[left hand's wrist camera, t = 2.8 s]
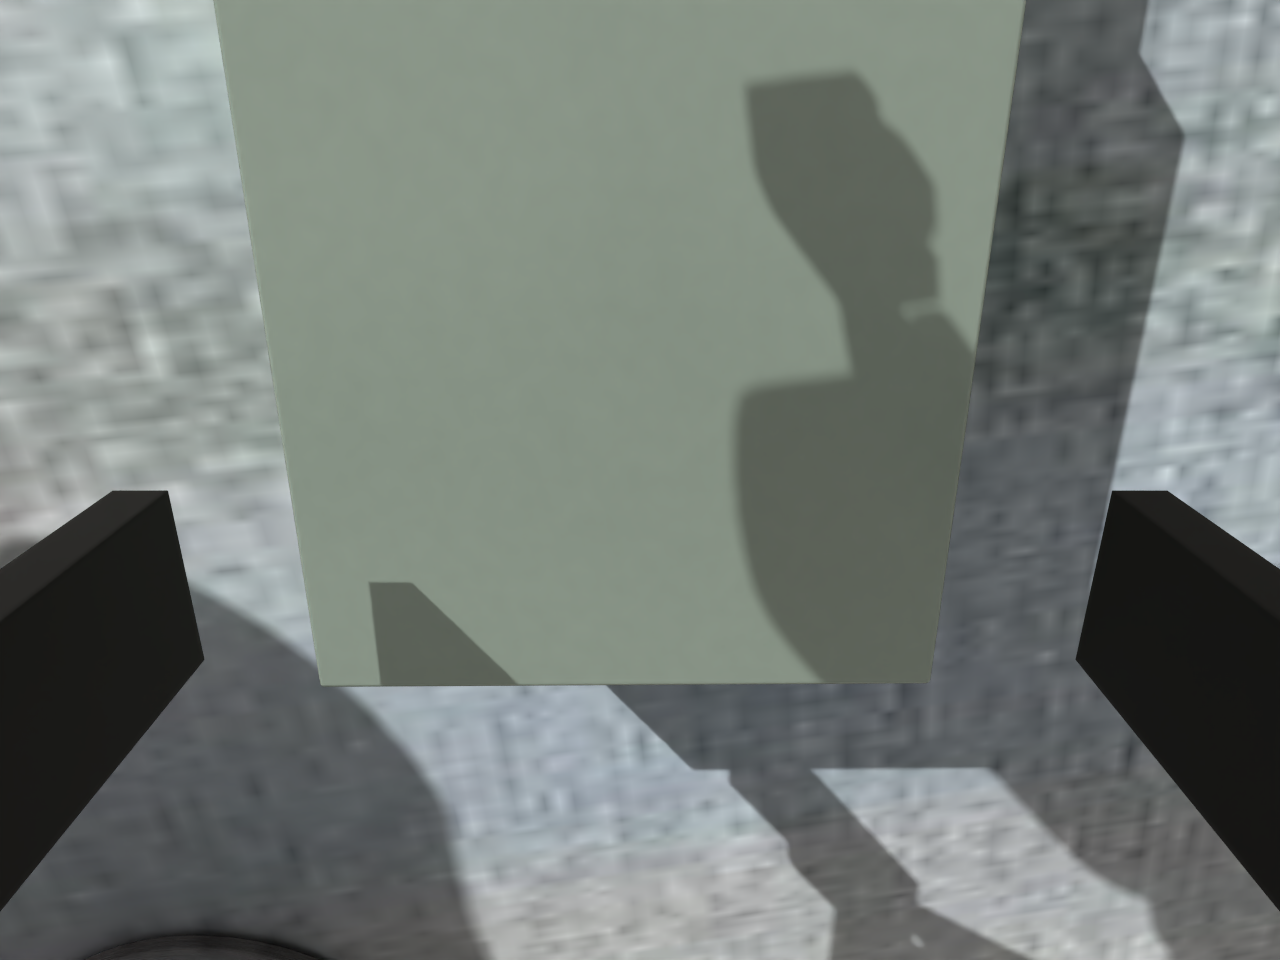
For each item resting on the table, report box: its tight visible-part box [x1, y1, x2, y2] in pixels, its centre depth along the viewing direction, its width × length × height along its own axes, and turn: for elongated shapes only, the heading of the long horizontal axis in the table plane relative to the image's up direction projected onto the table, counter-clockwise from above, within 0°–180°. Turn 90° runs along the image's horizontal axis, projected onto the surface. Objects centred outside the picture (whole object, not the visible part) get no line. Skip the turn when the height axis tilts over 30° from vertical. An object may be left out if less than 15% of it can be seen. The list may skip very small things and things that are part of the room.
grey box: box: [213, 0, 1026, 687], centre depth 17 cm, size 19×11×8 cm, turn 0°
